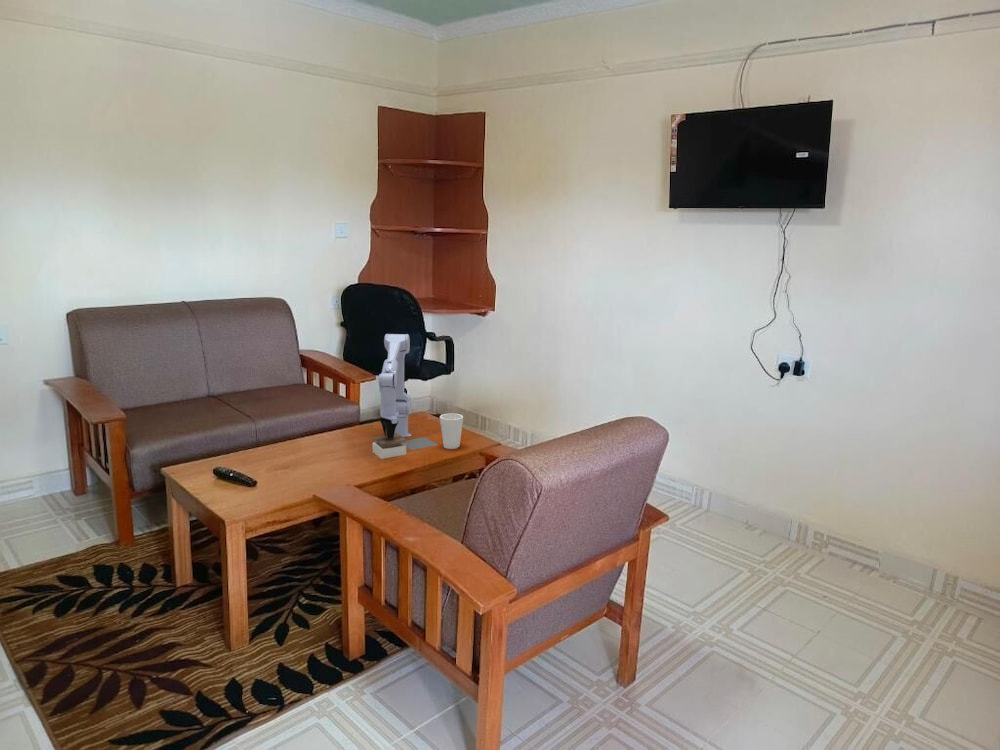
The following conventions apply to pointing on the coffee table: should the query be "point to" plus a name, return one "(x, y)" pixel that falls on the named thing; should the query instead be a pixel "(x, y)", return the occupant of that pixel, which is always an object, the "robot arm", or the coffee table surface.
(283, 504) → the coffee table surface
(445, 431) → the foam cup
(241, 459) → the coffee table surface
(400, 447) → the white open box
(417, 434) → the coffee table surface
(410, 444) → the mat
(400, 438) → the lid
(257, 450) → the coffee table surface
